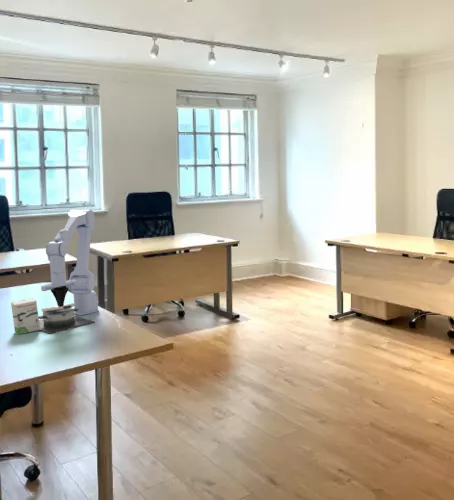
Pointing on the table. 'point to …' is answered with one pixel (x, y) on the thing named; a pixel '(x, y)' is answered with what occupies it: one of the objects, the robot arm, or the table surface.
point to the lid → (58, 307)
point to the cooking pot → (61, 320)
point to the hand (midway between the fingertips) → (60, 305)
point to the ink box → (25, 316)
